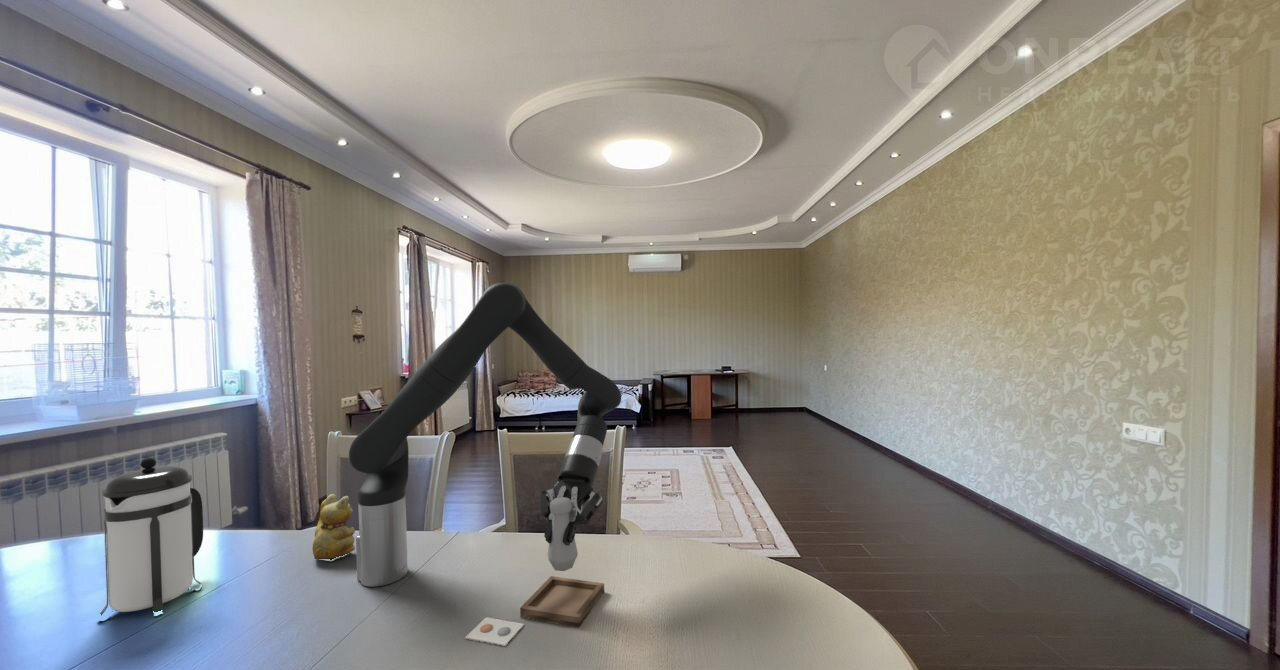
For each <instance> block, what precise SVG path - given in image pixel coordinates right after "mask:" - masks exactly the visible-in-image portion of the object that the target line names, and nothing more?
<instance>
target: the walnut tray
mask: <svg viewBox="0 0 1280 670" xmlns="http://www.w3.org/2000/svg"><path fill="white" fill-rule="evenodd" d="M604 594H605V583H604V582H597V581H591V580H584V579H583V580H581V579H576V578H575V579H574V578H567V577H562V576H561V577H559V576H554V575H550V576H549V578H547V580H546V581H545V582H544V583H542V585H541V586H539V588H538V589H537V590H536V591H535V592H534V593H533V594H532V595H531V596H530V597H529V598H528V599H527V600H526V601H525V602H524V603H523V604H522V606H520V607H519V615H520V617H524V618H523V619H526V618H529V619H528V620H532V619H534V620H533V621H539V622H544V623H545V622H546V623H549V622H550V623H551V624H555V623H557V625H561V624H562V626H567V627H568V626H569V627H574V628H580V627H581V626H582V624H583V623H584V622H585V620H586V619H587V617H588V616H589V615H590V613H591V612H592V611H593V609H594V608H595V606H596V605H597V603H598V602H599V600H600V599H601V598H602V596H604Z"/></svg>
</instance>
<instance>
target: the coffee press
mask: <svg viewBox="0 0 1280 670" xmlns="http://www.w3.org/2000/svg"><path fill="white" fill-rule="evenodd" d="M156 463H157V460H156V459H155V458H154V457H145V458H144V459H142V460H141V462H140V464H139V465H140V467H141V468H143V469H137V470H134V471H130V472H127V473H122V474H120V475H118V476H115V477H114V478H112V479H111V480H110V481H109V482H108V483H107V484H106V486H105V488H104V489H102V491H101V496H102V498H104V502H105V508H104V510H103V527H104V533H103V534H104V553H105V555H104V557H105V559H104V560H105V584H106V585H105V587H106V588H105V589H106V591H105V592H106V604H105V606H104V607H103V608H102V610H101V611H100V612H99V614H101V616H102V615H104V613H105V612H106V611H107V609H108V606H109V607H110V609H112V610H113V611H114V610H115V611H118V612H123V613H125V612H126V613H128V612H137V611H142V610H145V609H150V608H151V607H152V608H153V611H154V612H158V611H161V610H163V611H164V605H163V604H164V603H168V602H170V601H172V600H174V599H176V598H178V597H180V596H181V595H182V594H184V593H185V592H187V591H188V590H189V587H190V588H191V586H192V584H193V580H194V581H195V582H196V583H198V584H199V585H200V584H202V582H201V581H199V580H197V579H196V576H195V556H197V554H198V553H199V551H200V549H201V547H202V544H203V539H204V514H203V513H204V512H203V499H202V497H201V496H202V495H201V493H200V492H199V491H198V489H196V488H193V487H192V488H191V483H192V480H193V475H191V474H190V473H189V471H188V470H187V469H186V468H183V467H180V466H175V465H173V466H172V465H171V466H156V467H155V465H156ZM152 608H151V609H152Z"/></svg>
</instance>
